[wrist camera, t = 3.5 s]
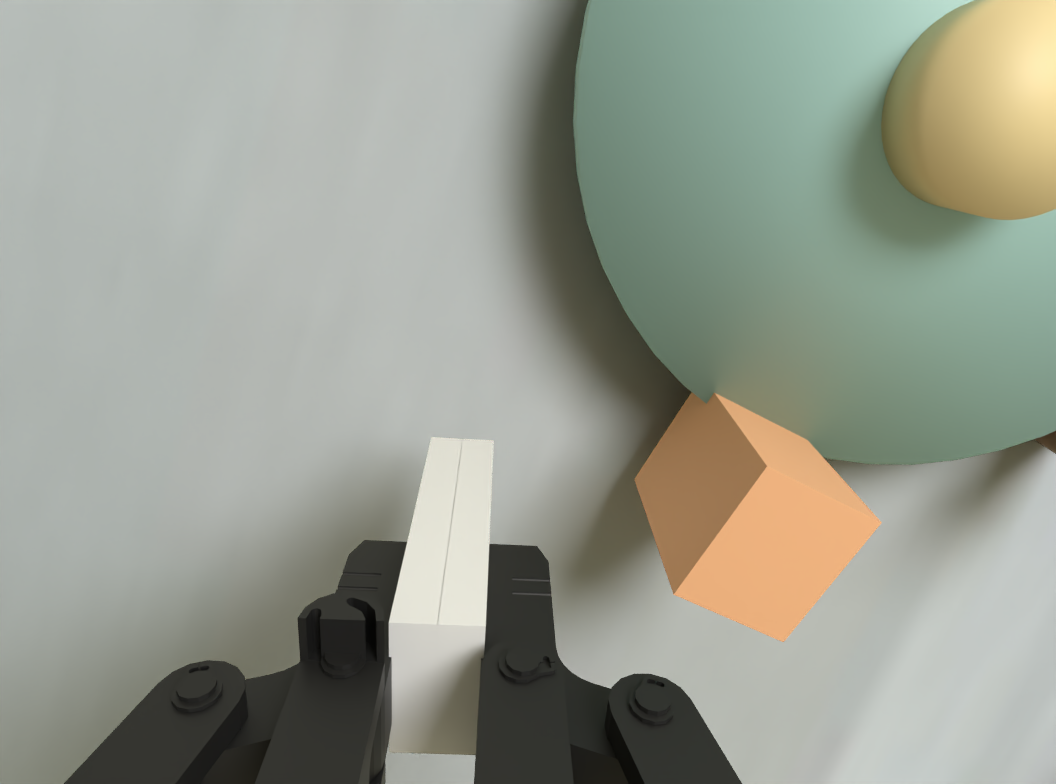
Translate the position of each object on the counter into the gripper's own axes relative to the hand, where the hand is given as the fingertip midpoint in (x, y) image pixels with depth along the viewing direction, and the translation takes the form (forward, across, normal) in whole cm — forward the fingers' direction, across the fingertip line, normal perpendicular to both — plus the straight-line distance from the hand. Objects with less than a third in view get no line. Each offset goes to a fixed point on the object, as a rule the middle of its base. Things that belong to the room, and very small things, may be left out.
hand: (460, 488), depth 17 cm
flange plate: (+3, +10, +8) cm, 14 cm away
